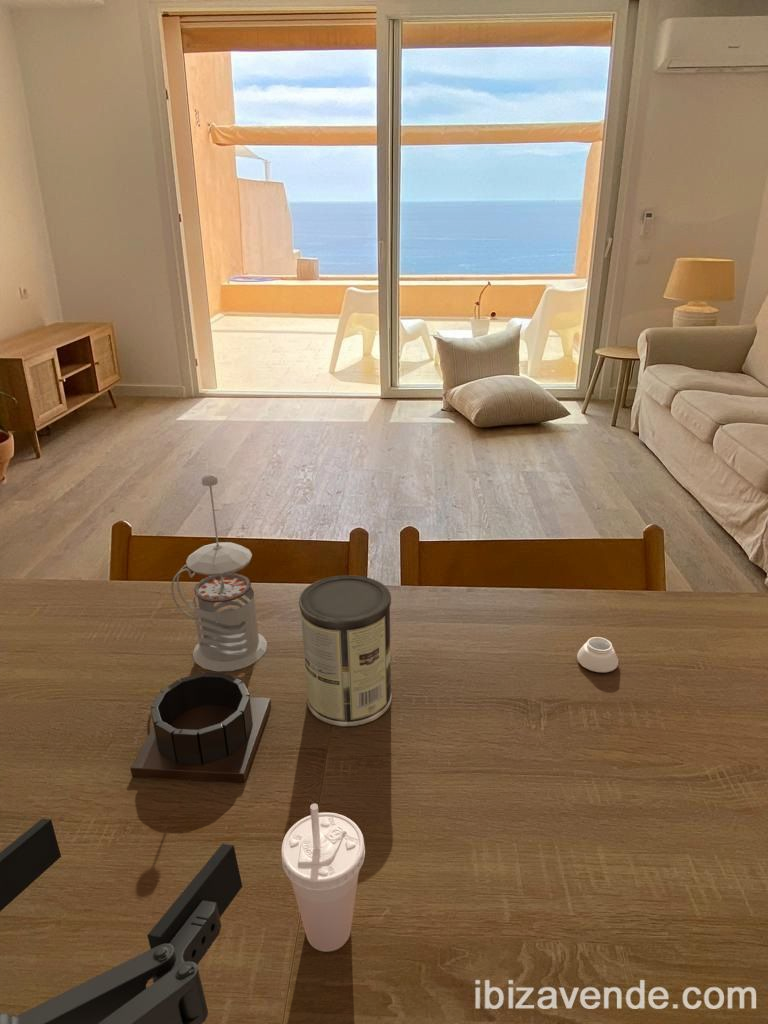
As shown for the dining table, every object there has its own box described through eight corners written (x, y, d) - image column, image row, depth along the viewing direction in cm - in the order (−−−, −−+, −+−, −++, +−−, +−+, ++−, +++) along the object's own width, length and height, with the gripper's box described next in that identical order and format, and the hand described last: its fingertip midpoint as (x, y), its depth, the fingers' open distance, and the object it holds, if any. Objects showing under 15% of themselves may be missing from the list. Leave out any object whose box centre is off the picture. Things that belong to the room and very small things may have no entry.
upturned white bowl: (591, 646, 92) (569, 662, 89) (593, 628, 91) (571, 643, 88) (625, 663, 89) (603, 680, 86) (628, 644, 88) (606, 660, 85)
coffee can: (337, 662, 90) (333, 566, 84) (407, 688, 85) (407, 587, 79) (288, 708, 82) (279, 605, 76) (362, 739, 77) (359, 632, 71)
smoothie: (273, 929, 57) (258, 802, 51) (332, 880, 61) (325, 757, 55) (323, 986, 53) (314, 855, 47) (383, 929, 57) (381, 802, 51)
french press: (253, 674, 88) (233, 491, 77) (167, 667, 89) (136, 486, 79) (276, 631, 96) (261, 462, 86) (197, 625, 98) (173, 458, 88)
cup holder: (131, 776, 72) (123, 737, 70) (172, 701, 83) (166, 665, 81) (244, 782, 71) (240, 743, 69) (271, 705, 82) (267, 669, 80)
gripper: (-444, 1254, 28) (2, 876, 47) (10, 1564, 19) (332, 937, 38) (-519, 1106, 26) (-27, 777, 46) (-65, 1365, 17) (310, 817, 36)
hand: (137, 849), depth 42 cm, fingers open, 13 cm apart
